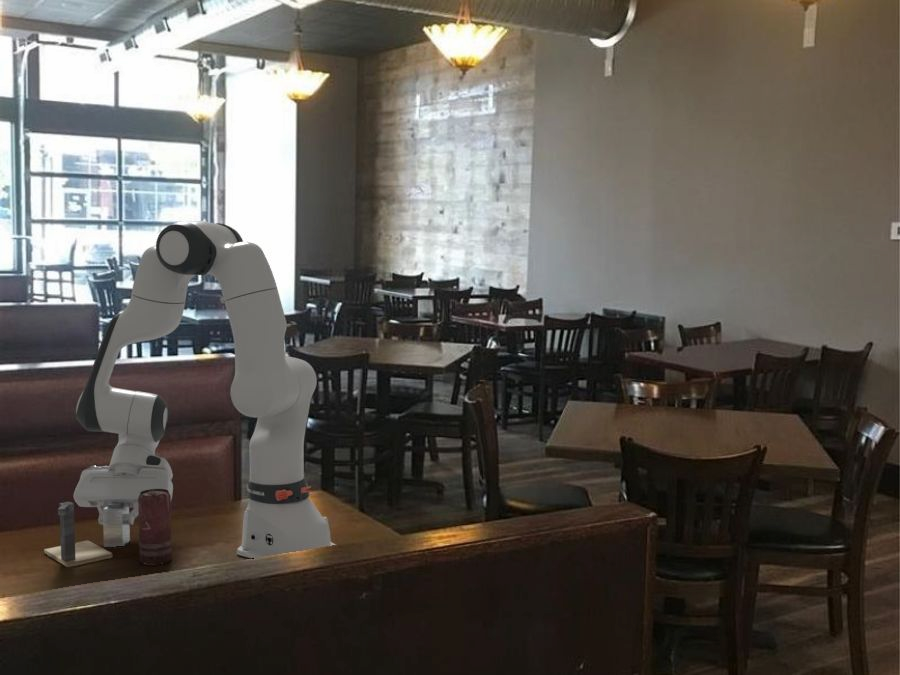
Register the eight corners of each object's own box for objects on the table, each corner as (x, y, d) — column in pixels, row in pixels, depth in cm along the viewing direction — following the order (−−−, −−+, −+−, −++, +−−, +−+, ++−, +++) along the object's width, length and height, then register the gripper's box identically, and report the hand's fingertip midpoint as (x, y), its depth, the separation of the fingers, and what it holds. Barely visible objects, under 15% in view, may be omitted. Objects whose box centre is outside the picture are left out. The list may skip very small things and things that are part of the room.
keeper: (115, 558, 190) (113, 499, 189) (61, 570, 183) (59, 509, 182) (88, 544, 200) (86, 487, 199) (35, 554, 193) (33, 496, 192)
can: (163, 566, 186) (162, 496, 184) (134, 564, 187) (132, 494, 186) (178, 557, 192) (177, 488, 190) (149, 555, 193) (148, 487, 192)
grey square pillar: (129, 541, 202) (128, 501, 201) (122, 547, 198) (121, 506, 197) (111, 541, 202) (110, 501, 201) (103, 546, 198) (102, 506, 197)
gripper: (79, 458, 206) (61, 515, 197) (173, 459, 205) (159, 516, 196) (88, 474, 211) (71, 530, 202) (180, 474, 210) (166, 531, 201)
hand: (115, 523), depth 199 cm, fingers closed on grey square pillar, 4 cm apart
